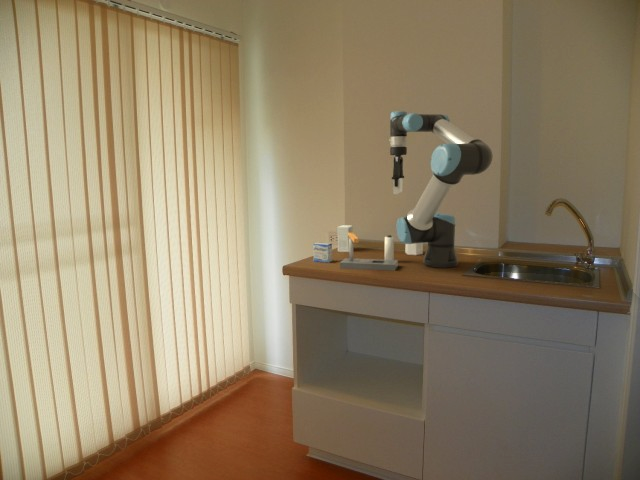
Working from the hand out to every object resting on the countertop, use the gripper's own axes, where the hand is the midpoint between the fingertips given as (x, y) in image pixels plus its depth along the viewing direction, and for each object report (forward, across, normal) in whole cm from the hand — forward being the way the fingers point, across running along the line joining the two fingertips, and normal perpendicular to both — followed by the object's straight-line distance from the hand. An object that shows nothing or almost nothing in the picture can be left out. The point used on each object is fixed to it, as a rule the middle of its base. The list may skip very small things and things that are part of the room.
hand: (398, 193), depth 227 cm
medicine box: (+32, +9, -34) cm, 48 cm away
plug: (+32, +7, -3) cm, 33 cm away
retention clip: (+18, +26, -16) cm, 36 cm away
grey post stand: (+32, +20, -10) cm, 39 cm away
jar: (+32, -18, +6) cm, 37 cm away
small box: (+32, -21, -30) cm, 48 cm away
